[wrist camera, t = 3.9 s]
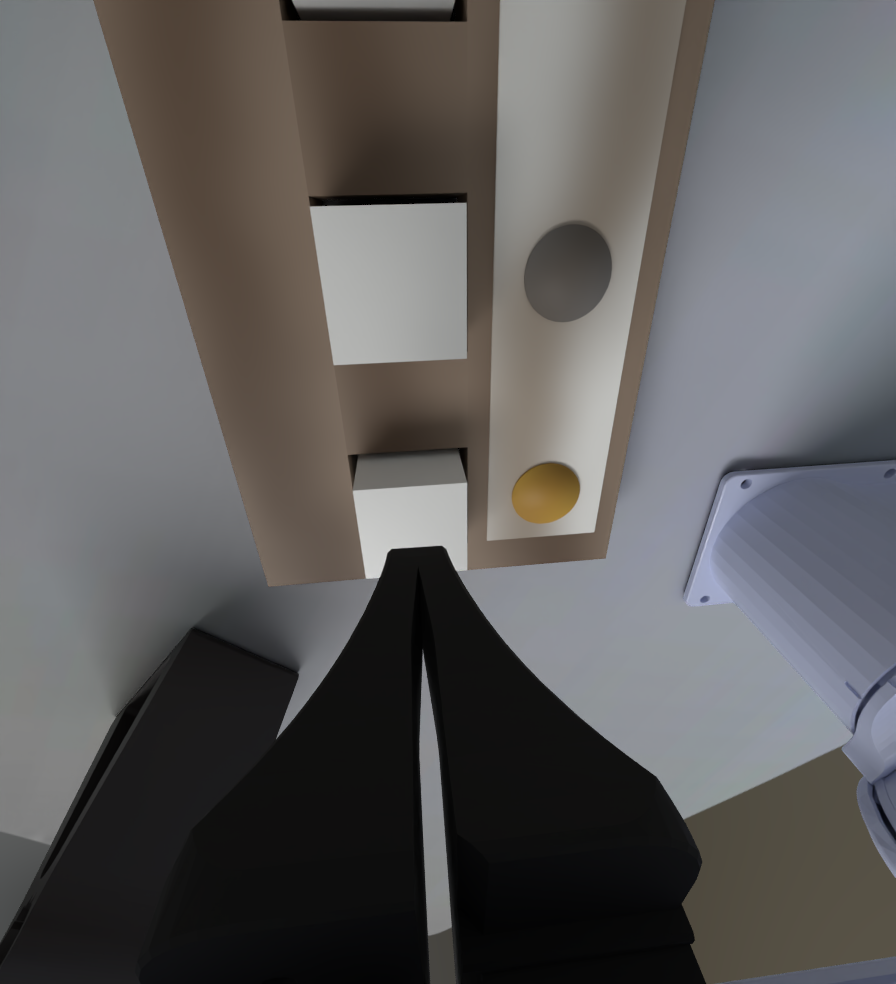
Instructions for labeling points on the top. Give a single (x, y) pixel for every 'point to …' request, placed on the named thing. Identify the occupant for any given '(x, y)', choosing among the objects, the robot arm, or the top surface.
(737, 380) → the top surface
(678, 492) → the top surface
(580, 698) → the top surface
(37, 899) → the phone stand
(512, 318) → the button board
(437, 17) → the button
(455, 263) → the button middle
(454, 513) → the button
